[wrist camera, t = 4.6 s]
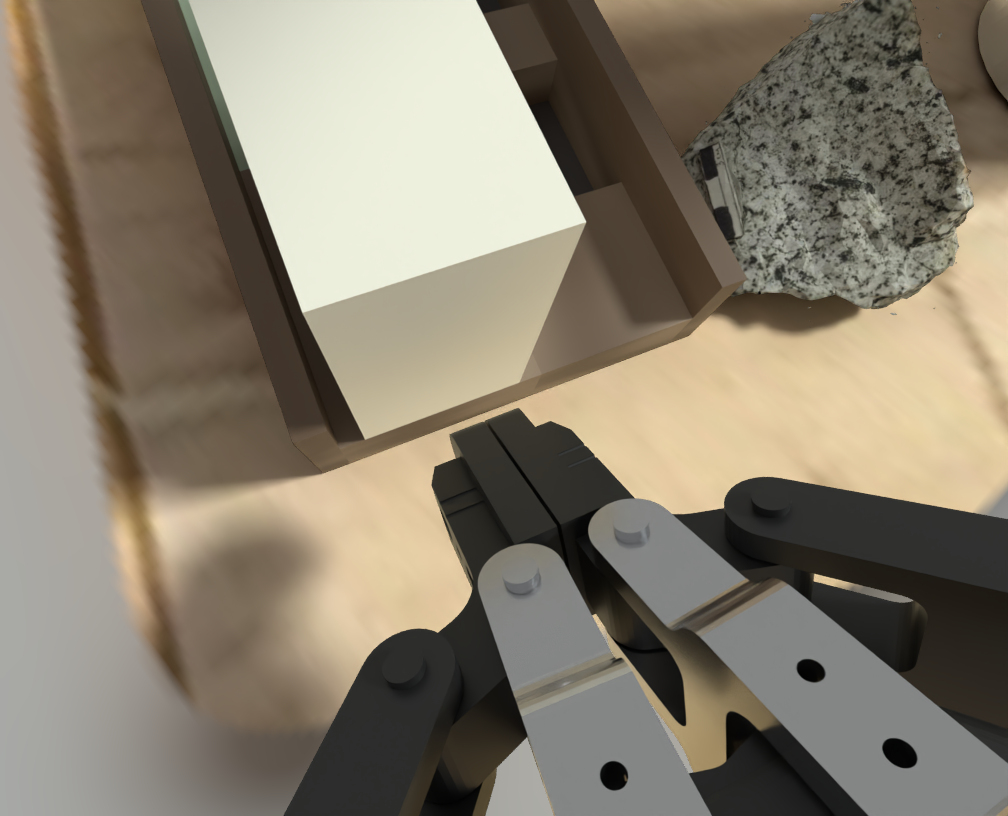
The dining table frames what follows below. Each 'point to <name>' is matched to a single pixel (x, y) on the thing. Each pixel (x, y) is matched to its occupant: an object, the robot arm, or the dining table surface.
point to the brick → (398, 191)
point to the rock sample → (838, 164)
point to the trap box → (587, 170)
